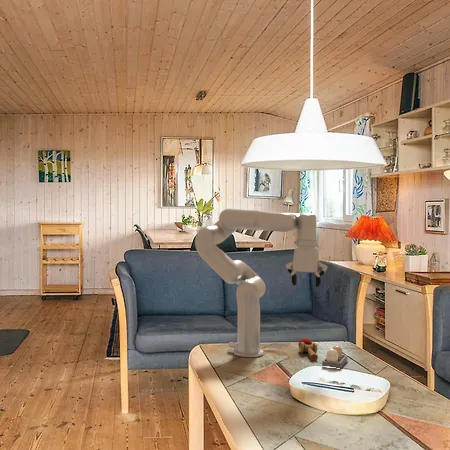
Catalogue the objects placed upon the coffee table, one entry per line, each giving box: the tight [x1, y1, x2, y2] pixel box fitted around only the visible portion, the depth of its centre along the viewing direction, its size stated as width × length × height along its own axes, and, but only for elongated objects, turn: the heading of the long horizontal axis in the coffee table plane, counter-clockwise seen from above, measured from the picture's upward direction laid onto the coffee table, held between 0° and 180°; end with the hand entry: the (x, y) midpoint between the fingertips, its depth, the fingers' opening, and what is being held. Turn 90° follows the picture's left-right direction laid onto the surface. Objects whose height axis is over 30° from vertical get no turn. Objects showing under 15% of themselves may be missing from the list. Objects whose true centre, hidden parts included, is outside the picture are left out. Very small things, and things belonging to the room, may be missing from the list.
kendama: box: [297, 337, 319, 362], centre depth 256 cm, size 8×6×18 cm
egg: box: [325, 348, 338, 362], centre depth 239 cm, size 4×4×6 cm
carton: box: [321, 345, 348, 369], centre depth 242 cm, size 7×13×7 cm, turn 156°
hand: (306, 285), depth 248 cm, fingers open, 9 cm apart
